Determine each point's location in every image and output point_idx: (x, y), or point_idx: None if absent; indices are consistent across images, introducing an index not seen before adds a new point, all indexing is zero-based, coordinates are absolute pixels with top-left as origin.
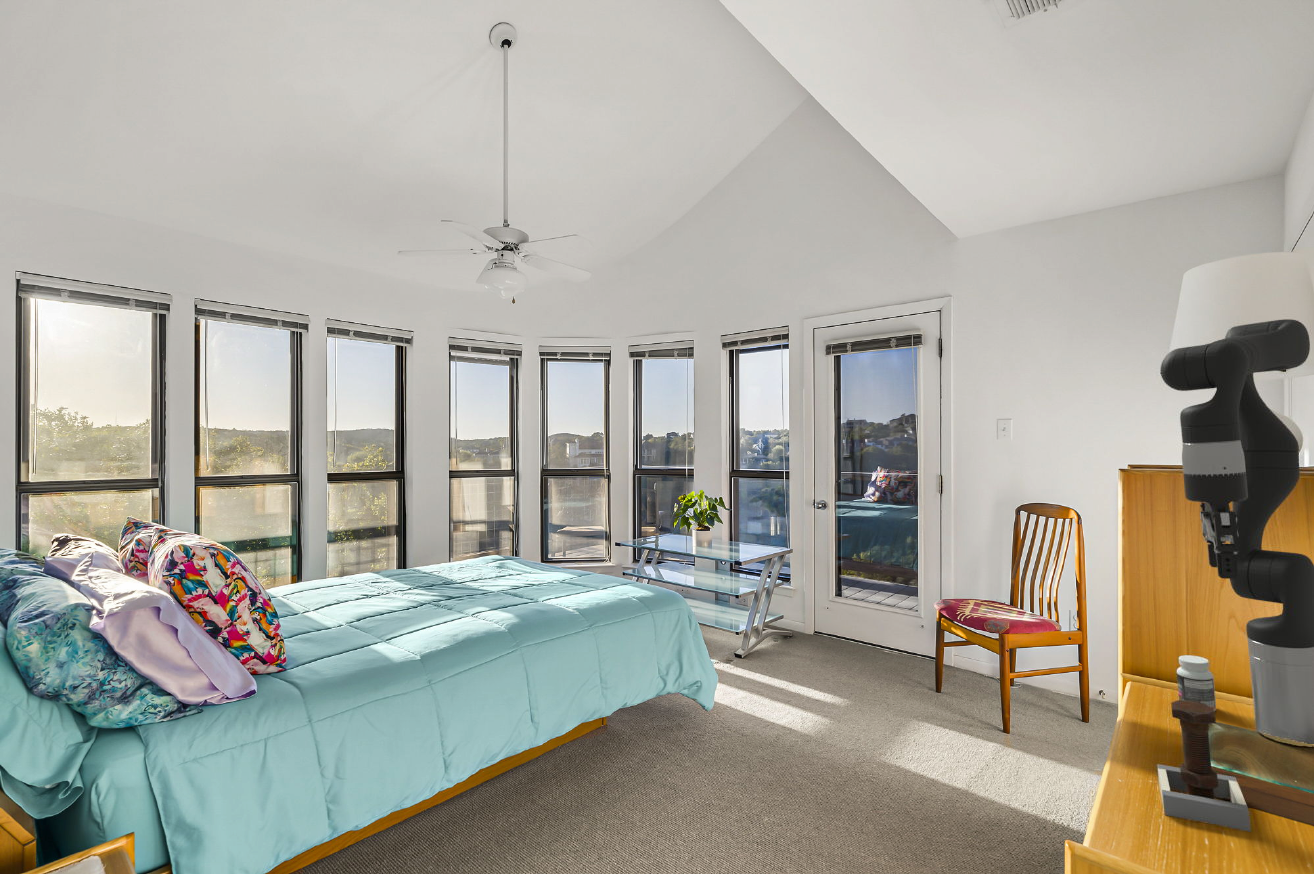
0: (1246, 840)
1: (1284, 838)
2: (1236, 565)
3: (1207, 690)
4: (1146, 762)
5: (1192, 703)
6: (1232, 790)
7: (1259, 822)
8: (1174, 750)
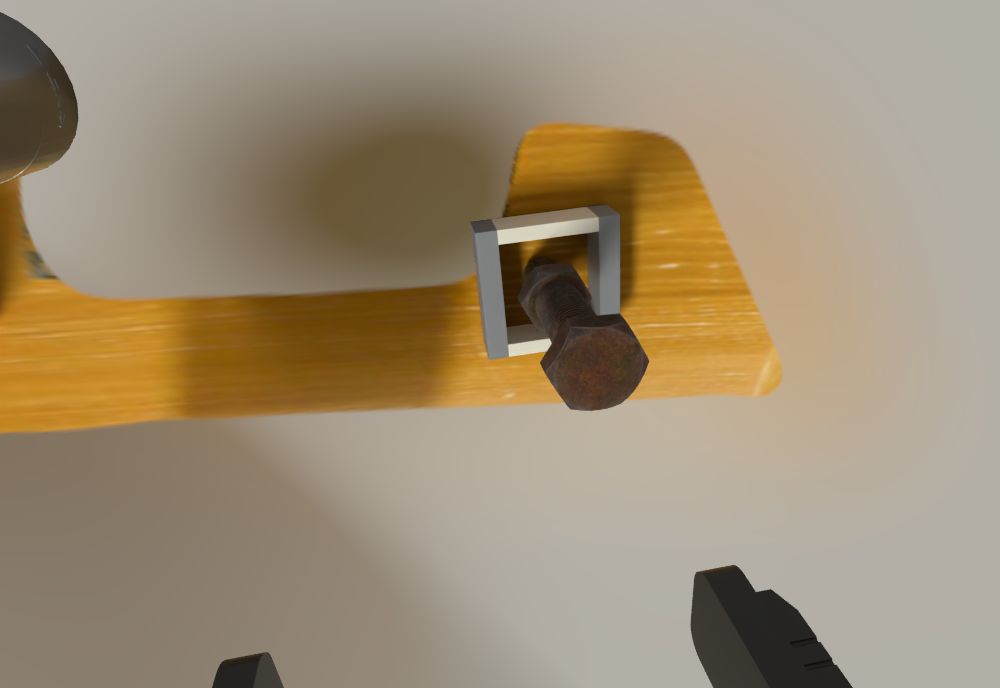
0: (640, 211)
1: (605, 154)
2: (790, 652)
3: None
4: (401, 367)
5: (576, 371)
6: (543, 238)
7: (562, 189)
8: (301, 329)
